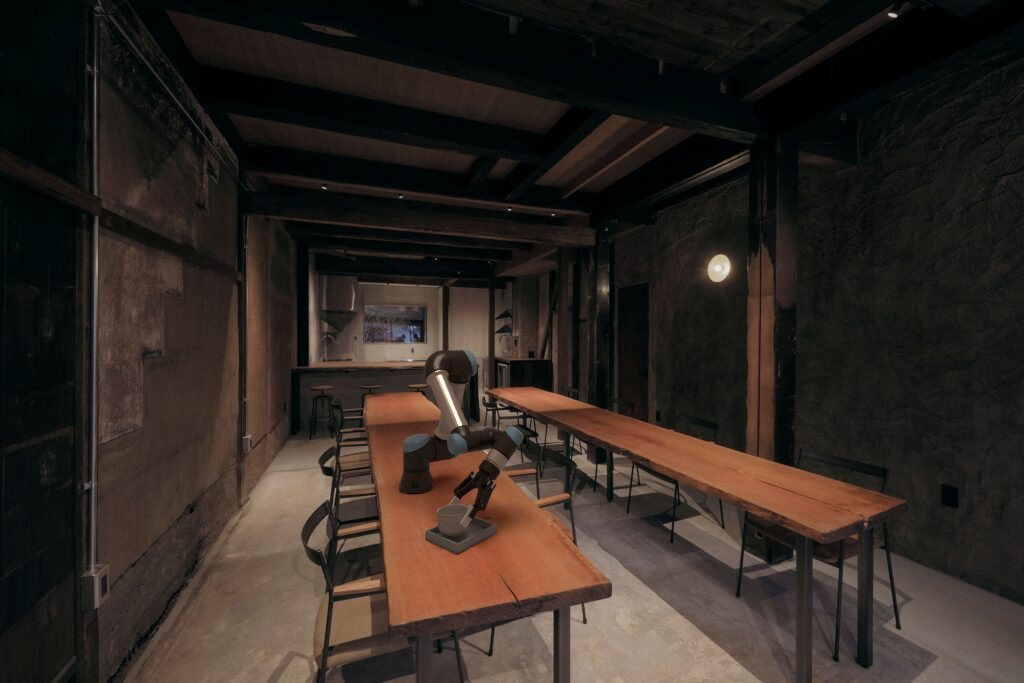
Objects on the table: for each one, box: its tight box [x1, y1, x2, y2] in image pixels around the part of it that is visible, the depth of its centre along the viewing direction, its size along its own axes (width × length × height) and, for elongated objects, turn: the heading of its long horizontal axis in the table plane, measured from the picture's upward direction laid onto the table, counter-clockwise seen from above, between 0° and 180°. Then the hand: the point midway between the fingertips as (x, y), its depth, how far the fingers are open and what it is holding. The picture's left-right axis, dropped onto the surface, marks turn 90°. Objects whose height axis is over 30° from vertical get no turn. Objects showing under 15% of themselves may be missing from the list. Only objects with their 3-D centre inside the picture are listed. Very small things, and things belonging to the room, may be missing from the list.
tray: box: [424, 516, 497, 555], centre depth 142 cm, size 15×18×3 cm
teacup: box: [436, 503, 473, 536], centre depth 141 cm, size 14×11×8 cm
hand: (454, 519), depth 140 cm, fingers closed on teacup, 11 cm apart
